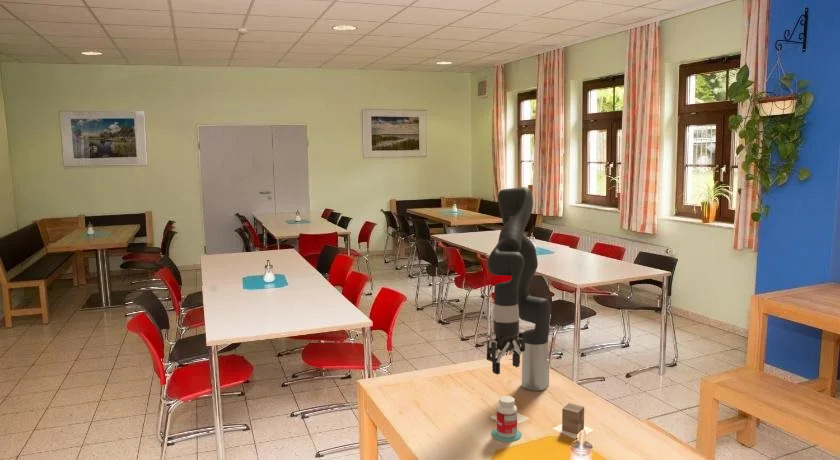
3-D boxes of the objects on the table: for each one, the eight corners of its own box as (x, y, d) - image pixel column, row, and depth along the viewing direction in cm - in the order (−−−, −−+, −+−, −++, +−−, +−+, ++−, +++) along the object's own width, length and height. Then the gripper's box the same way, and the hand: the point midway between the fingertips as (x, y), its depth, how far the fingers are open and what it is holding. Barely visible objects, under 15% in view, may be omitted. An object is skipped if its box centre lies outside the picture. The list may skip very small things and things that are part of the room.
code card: (509, 409, 198) (509, 409, 198) (529, 419, 191) (529, 418, 191) (489, 417, 193) (489, 417, 193) (510, 427, 186) (510, 427, 186)
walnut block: (568, 424, 187) (568, 402, 186) (583, 428, 184) (584, 406, 183) (562, 430, 183) (562, 408, 182) (577, 434, 180) (578, 412, 179)
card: (570, 420, 190) (570, 419, 190) (594, 430, 183) (594, 429, 183) (551, 429, 184) (551, 428, 184) (575, 439, 178) (575, 439, 177)
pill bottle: (495, 428, 184) (495, 394, 183) (515, 428, 184) (515, 394, 183) (498, 438, 178) (498, 403, 177) (518, 438, 178) (518, 403, 177)
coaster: (505, 425, 188) (505, 424, 187) (527, 435, 181) (527, 434, 180) (485, 434, 182) (485, 432, 182) (507, 445, 175) (507, 444, 175)
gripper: (513, 310, 184) (513, 360, 187) (480, 320, 175) (480, 372, 178) (531, 315, 178) (531, 367, 181) (498, 325, 170) (499, 379, 172)
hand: (506, 369), depth 179 cm, fingers open, 8 cm apart
